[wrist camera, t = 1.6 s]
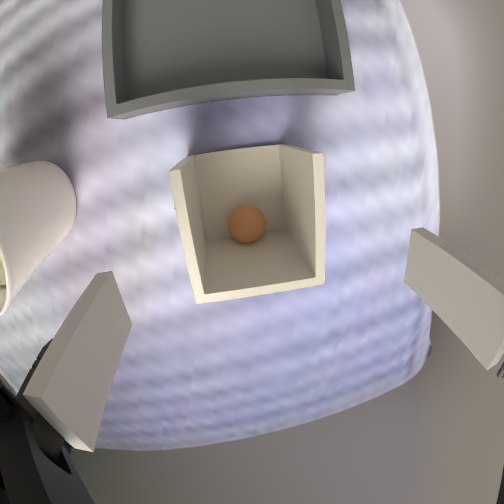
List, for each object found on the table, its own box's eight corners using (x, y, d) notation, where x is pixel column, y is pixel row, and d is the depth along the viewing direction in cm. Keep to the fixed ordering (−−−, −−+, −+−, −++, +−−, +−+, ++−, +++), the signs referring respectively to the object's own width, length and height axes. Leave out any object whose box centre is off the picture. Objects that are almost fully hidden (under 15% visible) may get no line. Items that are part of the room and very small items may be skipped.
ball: (224, 201, 22) (227, 219, 20) (261, 196, 23) (268, 213, 20) (228, 233, 24) (231, 252, 22) (263, 228, 24) (270, 247, 22)
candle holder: (103, 198, 22) (26, 258, 11) (56, 267, 24) (-4, 340, 13) (39, 131, 18) (-53, 150, 7) (0, 207, 20) (-73, 254, 9)
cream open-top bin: (187, 155, 21) (168, 171, 13) (284, 144, 22) (323, 153, 14) (202, 245, 25) (196, 303, 17) (290, 232, 25) (324, 284, 17)
